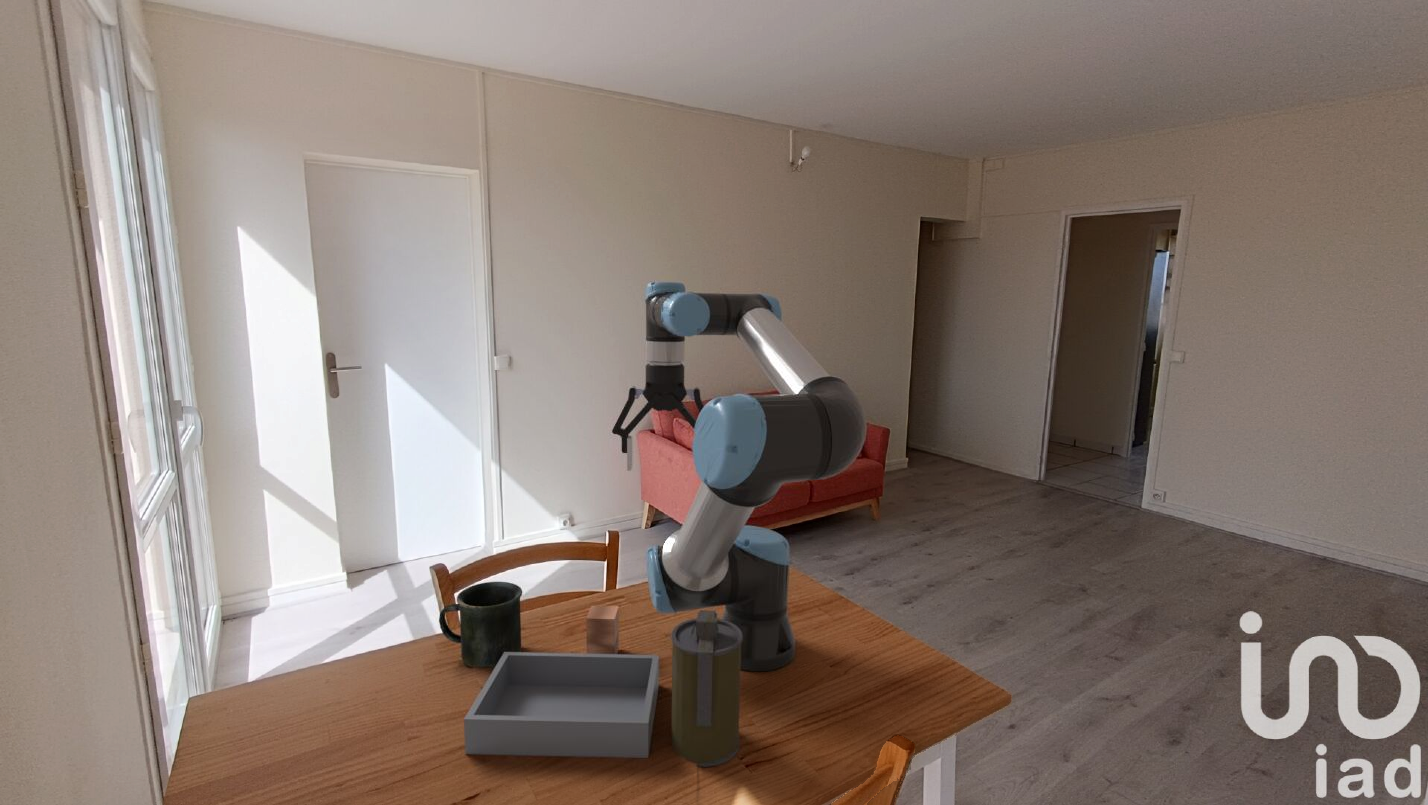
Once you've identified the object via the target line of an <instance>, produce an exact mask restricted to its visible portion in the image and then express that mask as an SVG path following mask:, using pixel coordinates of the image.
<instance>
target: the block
mask: <svg viewBox="0 0 1428 805" xmlns="http://www.w3.org/2000/svg"><path fill="white" fill-rule="evenodd" d="M619 608H620V607H619V605H591V606H590V609H589V611H588V613H587V616H586V620H585V621H586V622H585V623H586V626H585V627H586V630H585V631H586V632H585V633H586V654H618V652H619V649H620V644H619V643H620V640H619V639H620V636H619V634H620V631H619V630H620V628H619V627H620V624H619V622H620V621H619V620H620V618H619V617H620V614H619V613H620V612H619V610H620V609H619Z"/></svg>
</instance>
